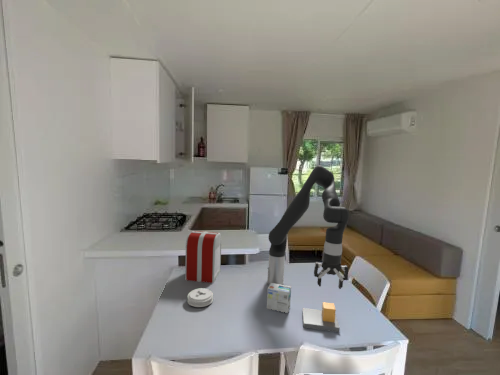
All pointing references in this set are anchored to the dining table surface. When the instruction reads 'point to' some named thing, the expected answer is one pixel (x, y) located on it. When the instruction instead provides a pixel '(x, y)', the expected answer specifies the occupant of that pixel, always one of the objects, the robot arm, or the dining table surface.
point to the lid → (200, 297)
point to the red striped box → (203, 256)
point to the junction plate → (318, 321)
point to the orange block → (328, 312)
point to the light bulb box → (279, 297)
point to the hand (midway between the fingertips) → (329, 286)
